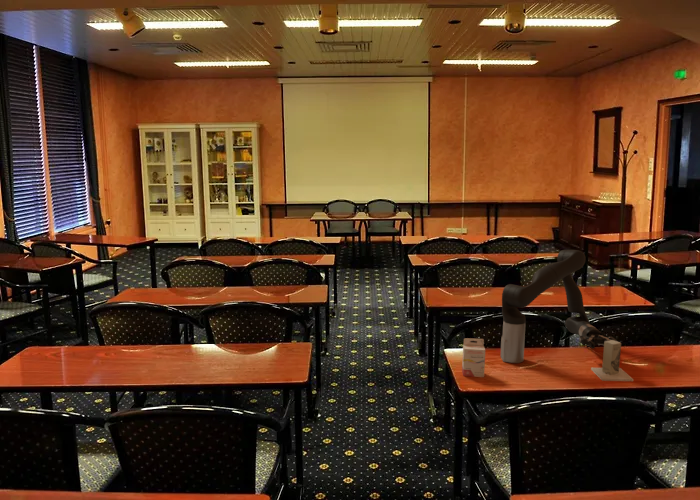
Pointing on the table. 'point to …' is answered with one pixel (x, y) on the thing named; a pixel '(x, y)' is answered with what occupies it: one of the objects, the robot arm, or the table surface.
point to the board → (612, 375)
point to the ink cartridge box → (473, 358)
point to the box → (611, 357)
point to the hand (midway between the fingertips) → (604, 346)
